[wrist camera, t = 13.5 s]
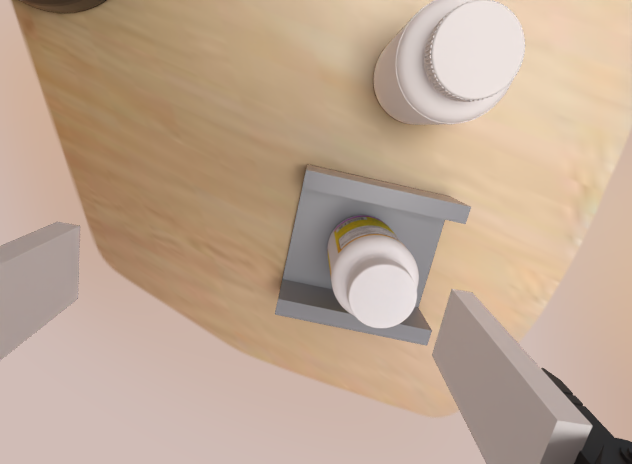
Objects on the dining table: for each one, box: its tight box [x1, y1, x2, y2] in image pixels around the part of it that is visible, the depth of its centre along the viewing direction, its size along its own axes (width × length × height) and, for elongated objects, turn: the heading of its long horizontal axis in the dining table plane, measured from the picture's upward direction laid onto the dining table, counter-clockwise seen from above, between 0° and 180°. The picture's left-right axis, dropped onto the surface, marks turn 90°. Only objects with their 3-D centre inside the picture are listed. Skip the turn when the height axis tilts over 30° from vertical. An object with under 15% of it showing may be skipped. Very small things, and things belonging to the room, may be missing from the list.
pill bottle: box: [374, 0, 525, 125], centre depth 30 cm, size 8×8×15 cm
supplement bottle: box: [327, 215, 419, 328], centre depth 34 cm, size 7×7×13 cm
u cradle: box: [275, 164, 471, 345], centre depth 38 cm, size 13×14×6 cm
